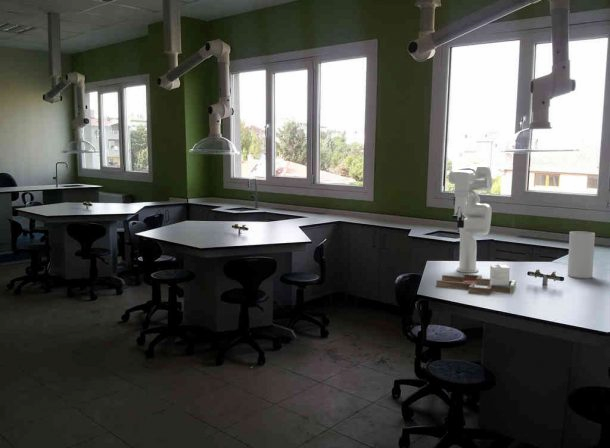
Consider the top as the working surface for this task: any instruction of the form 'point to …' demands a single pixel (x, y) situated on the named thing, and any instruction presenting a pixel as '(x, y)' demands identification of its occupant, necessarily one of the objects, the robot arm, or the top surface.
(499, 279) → the ink box
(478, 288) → the trap lane
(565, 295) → the top surface
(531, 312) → the top surface
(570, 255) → the cylinder vase
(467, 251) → the robot arm
